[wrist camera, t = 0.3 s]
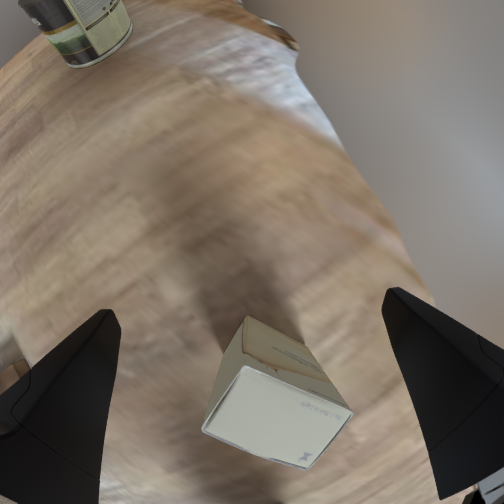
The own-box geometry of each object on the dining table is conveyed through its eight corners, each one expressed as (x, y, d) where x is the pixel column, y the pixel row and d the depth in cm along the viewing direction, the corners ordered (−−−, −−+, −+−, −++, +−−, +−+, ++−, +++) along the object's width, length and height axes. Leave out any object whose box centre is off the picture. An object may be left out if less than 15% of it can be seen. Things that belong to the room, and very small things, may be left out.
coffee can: (67, 82, 24) (10, 18, 10) (65, 42, 24) (24, -14, 10) (140, 42, 24) (105, -41, 10) (128, 8, 24) (101, -58, 10)
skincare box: (308, 345, 23) (361, 411, 11) (281, 386, 23) (310, 473, 11) (244, 312, 23) (245, 360, 11) (218, 355, 23) (197, 432, 11)
